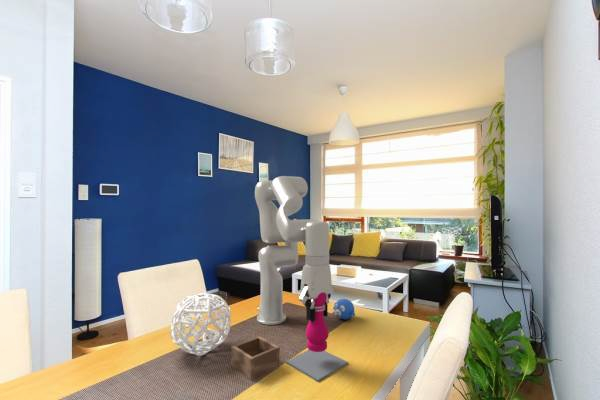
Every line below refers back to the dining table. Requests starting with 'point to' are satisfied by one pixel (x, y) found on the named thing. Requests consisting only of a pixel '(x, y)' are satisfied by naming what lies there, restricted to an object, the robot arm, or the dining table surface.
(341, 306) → the blue mole toy
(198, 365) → the dining table surface
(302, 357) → the mat
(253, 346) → the holder
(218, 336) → the decorative ball
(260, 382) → the dining table surface
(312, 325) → the pink bowling pin
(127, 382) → the dining table surface
